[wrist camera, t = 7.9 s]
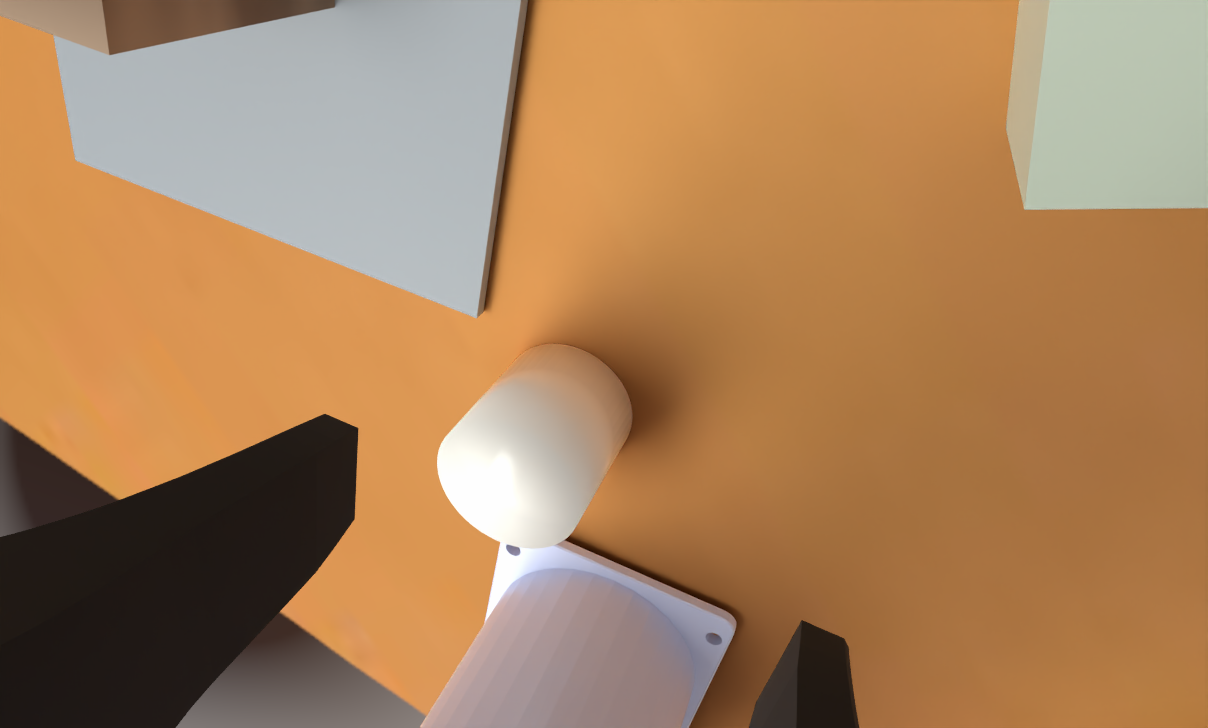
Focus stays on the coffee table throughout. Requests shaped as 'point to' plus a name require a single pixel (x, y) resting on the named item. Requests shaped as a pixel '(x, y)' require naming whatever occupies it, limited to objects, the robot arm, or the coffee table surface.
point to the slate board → (324, 131)
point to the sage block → (1110, 104)
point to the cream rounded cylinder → (536, 446)
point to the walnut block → (147, 19)
